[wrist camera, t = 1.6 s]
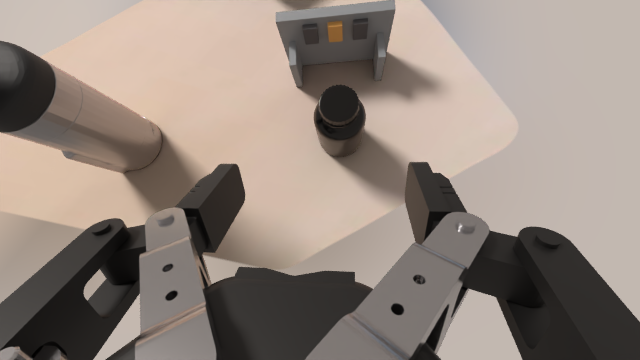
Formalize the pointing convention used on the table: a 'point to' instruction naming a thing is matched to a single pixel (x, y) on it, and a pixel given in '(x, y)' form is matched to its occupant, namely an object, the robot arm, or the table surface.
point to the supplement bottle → (339, 120)
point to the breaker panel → (336, 35)
